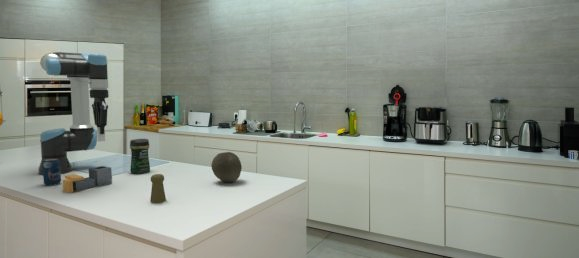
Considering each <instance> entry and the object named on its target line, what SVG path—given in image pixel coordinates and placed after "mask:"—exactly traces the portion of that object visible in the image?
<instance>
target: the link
mask: <svg viewBox="0 0 579 258" xmlns="http://www.w3.org/2000/svg"><path fill="white" fill-rule="evenodd" d="M112 174H113V173H112V167H111V166H105V165H100V166H95V167H90V168H88V177H84V180H79V181H73V192H79V191H84V190H89V189H92V188H101V187H104V186H109V185H112V184H113V175H112Z"/></svg>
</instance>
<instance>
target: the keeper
mask: <svg viewBox="0 0 579 258" xmlns="http://www.w3.org/2000/svg"><path fill="white" fill-rule="evenodd" d="M84 178H85V177H84V176H83V175H80V174H79V175H78V174H76V173H73V174H67V175H64V179H61V182H62V192H64V193H67V194H70V193H74V191H73V181H79V180H84Z"/></svg>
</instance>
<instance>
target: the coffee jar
mask: <svg viewBox="0 0 579 258" xmlns="http://www.w3.org/2000/svg"><path fill="white" fill-rule="evenodd" d="M129 149H130V153H131V155H130V158H131V159H130V173H131V174H133V175H134V174H135V175H139V174H141V175H142V174H146V173H149V172H150V171H151V165H150V158H149V149H150V141H149V138H134V139H130V142H129Z"/></svg>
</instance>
